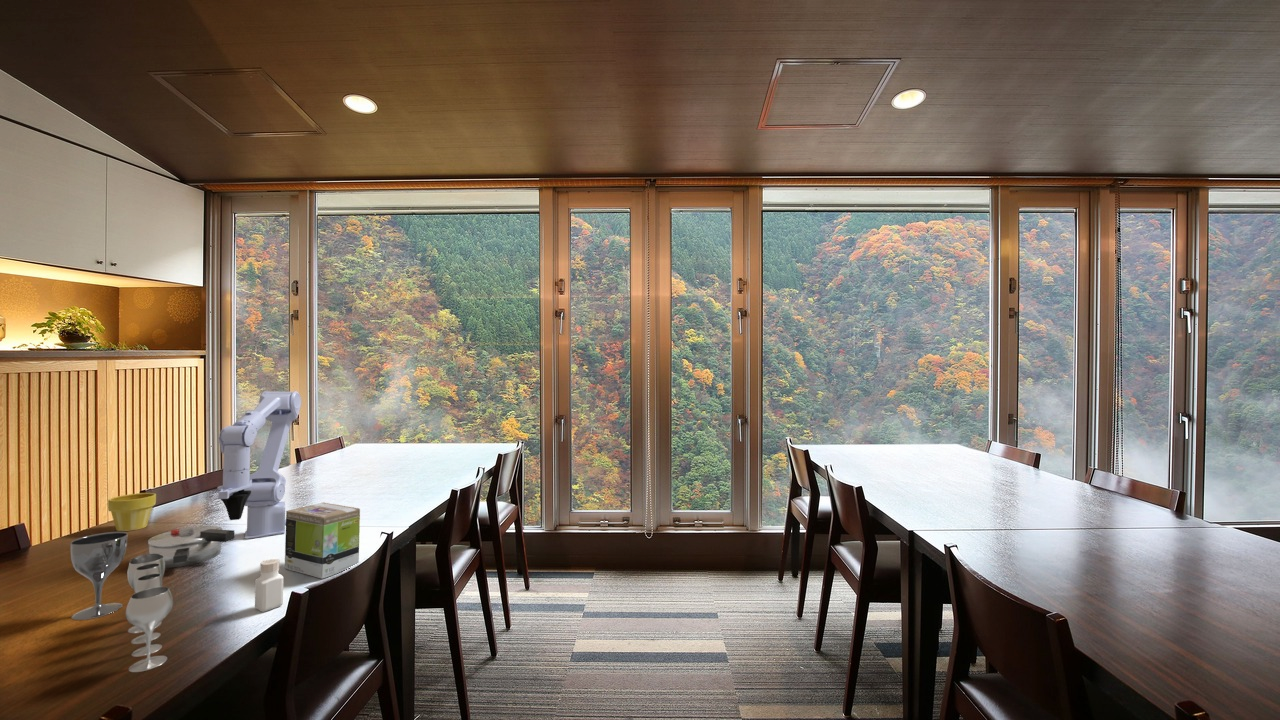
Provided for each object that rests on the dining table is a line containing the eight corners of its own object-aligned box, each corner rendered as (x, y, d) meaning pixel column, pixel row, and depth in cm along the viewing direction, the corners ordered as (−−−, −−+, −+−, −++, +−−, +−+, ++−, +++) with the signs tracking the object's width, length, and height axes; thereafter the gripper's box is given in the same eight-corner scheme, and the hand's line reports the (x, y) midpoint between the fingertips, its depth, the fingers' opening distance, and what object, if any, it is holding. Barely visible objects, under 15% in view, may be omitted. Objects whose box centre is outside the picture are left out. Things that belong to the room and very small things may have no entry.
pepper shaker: (262, 613, 103) (263, 566, 103) (253, 608, 105) (254, 562, 105) (284, 605, 106) (285, 560, 106) (275, 601, 108) (276, 556, 108)
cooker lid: (131, 545, 126) (132, 536, 126) (190, 527, 140) (190, 519, 140) (202, 550, 123) (202, 541, 123) (254, 531, 137) (254, 523, 137)
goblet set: (123, 617, 100) (125, 551, 101) (163, 608, 105) (164, 544, 105) (124, 679, 81) (126, 596, 81) (172, 664, 85) (174, 585, 85)
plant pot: (128, 523, 159) (129, 492, 159) (164, 522, 160) (165, 492, 161) (97, 534, 149) (97, 501, 149) (135, 533, 150) (136, 500, 150)
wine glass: (136, 603, 106) (138, 532, 107) (92, 622, 98) (94, 545, 99) (103, 601, 107) (105, 530, 107) (56, 619, 99) (58, 543, 99)
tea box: (360, 565, 128) (361, 507, 128) (321, 580, 119) (322, 518, 119) (322, 555, 134) (324, 500, 134) (282, 569, 125) (284, 509, 125)
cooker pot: (153, 555, 133) (154, 536, 133) (222, 544, 141) (222, 526, 142) (139, 581, 117) (139, 559, 117) (217, 567, 126) (217, 547, 126)
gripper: (231, 465, 143) (230, 513, 143) (204, 475, 129) (203, 528, 129) (261, 464, 145) (259, 511, 145) (237, 474, 131) (236, 526, 131)
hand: (235, 519), depth 137 cm, fingers closed
